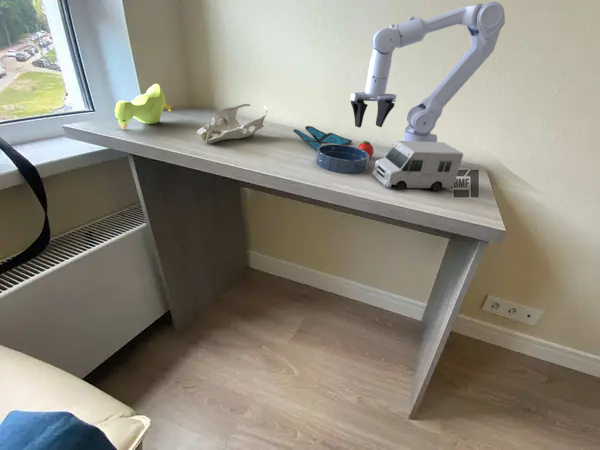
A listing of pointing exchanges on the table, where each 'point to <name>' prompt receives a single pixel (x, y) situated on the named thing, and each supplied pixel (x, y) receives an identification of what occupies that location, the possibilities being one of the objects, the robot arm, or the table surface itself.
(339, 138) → the decorative butterfly
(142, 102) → the toy
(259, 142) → the table surface
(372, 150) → the tomato
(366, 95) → the robot arm
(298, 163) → the table surface
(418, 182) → the toy truck
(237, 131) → the anatomical model
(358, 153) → the bowl
